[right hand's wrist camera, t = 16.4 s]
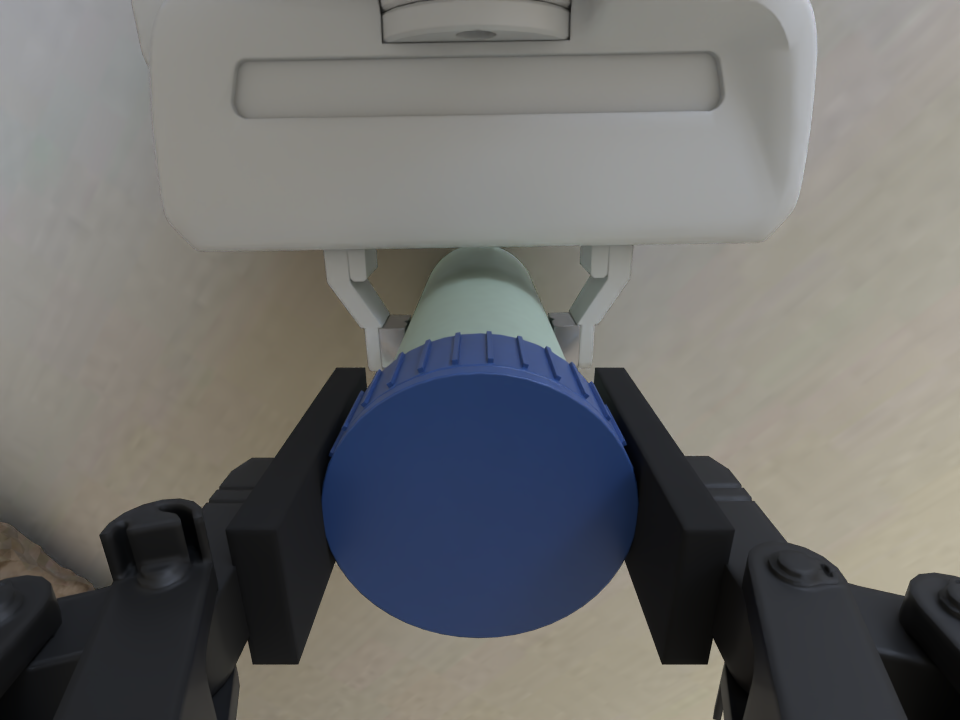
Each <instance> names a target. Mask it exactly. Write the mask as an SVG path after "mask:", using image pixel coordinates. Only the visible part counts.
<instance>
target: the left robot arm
mask: <svg viewBox="0 0 960 720" xmlns="http://www.w3.org/2000/svg"><path fill="white" fill-rule="evenodd" d="M131 3H132V8H133V12H134V17H135V22H136V27H137V32H138V36H139V41H140V46H141V50H142V53H143V56H144V59H145V61H146V63H147V65H148V67H149V77H150V99H151V118H152V130H153V140H154V151H155V159H156V167H157V175H158V182H159V188H160V195H161V200H162V205H163V210H164V213H165V216H166V219H167V221H168V222H169V224H170V225H171V226H172V227H173V228H174V229H175V230H176V231H177V232H178V233H179V234H180V235H181V236H182V237H183V239H184V240H185V241H186V242H188V243H189V244H190V245H191V246H192V247H193V248H194V249H196V250H198V251H203V252H220V251H283V250H323V252H324V260H325V268H326V277H327V283H328V285H329V286H330V287H331V289H332V290H333V291H334V293H335V294H336V295H337V297H338V298H339V299H340V301H341V302H342V303H343V305H344V306H345V307H346V309H347V310H348V312H349V313H350V314H351V316H352V317H353V318H354V320H355V321H356V322H357V324H358V325H359V326H360V328H364V329H365V339H366V349H367V359H368V367H369V369H370V371H378V370H379V369H380V370H381V371H383V370H384V369H385V368H386V367H387V366H389V365H390V364H391V363H392V362H393V361H394V359H395V357H396V354H397V352H398V350H399V347H400V345H401V342H402V340H403V338H404V335H405V333H406V331H407V328H408V326H409V324H410V321H411V315H390V313H389V311H388V310H387V308H386V307H385V305H384V304H383V302H382V301H381V299H380V297H379V296H378V294H377V293H376V291H375V290H374V288H373V287H372V285H371V283H370V282H369V280H368V279H367V278H368V277H369V276H370V275H371V274H372V273H373V271H374V270H375V269H376V268H377V267H378V264H377V250H376V249H409V248H472V247H534V246H581V247H580V264H581V265H582V267H583V268H584V269H585V270H586V271H587V272H588V273H589V274H590V277H589V279H588V280H587V282H586V284H585V285H584V287H583V288H582V290H581V292H580V293H579V295H578V297H577V298H576V300H575V302H574V303H573V305H572V307H571V308H570V310H569V312H560V313H548V320H549V322H550V324H551V327H552V329H553V331H554V334H555V336H556V338H557V341H558V343H559V345H560V348H561V350H562V352H563V355H564V357H565V359H566V361H567V362H568V363H570V362H573V363H574V364H575V366H576V368H590V367H591V365H592V360H593V344H594V329H595V325H598V324H599V323H600V321H601V320H602V319H603V317H604V316H605V314H606V313H607V311H608V310H609V309H610V307H611V306H612V304H613V303H614V301H615V300H616V298H617V297H618V296H619V294H620V293H621V291H622V290H623V288H624V287H625V286H626V284H627V283H628V281H629V280H630V278H631V266H632V255H633V245H660V244H723V243H759V242H763V241H765V240H767V239H768V238H769V237H770V236H771V235H772V234H773V233H774V232H775V231H776V230H777V229H778V228H779V227H780V225H781V224H782V223H783V222H784V221H785V220H786V219H787V217H788V216H789V215H790V214H791V213H792V212H793V210H794V208H795V206H796V204H797V201H798V198H799V194H800V190H801V185H802V180H803V175H804V169H805V164H806V157H807V151H808V145H809V137H810V130H811V122H812V113H813V103H814V93H815V80H816V66H817V30H816V21H815V16H814V12H813V9H812V5H811V3H810V0H131Z"/></svg>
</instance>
